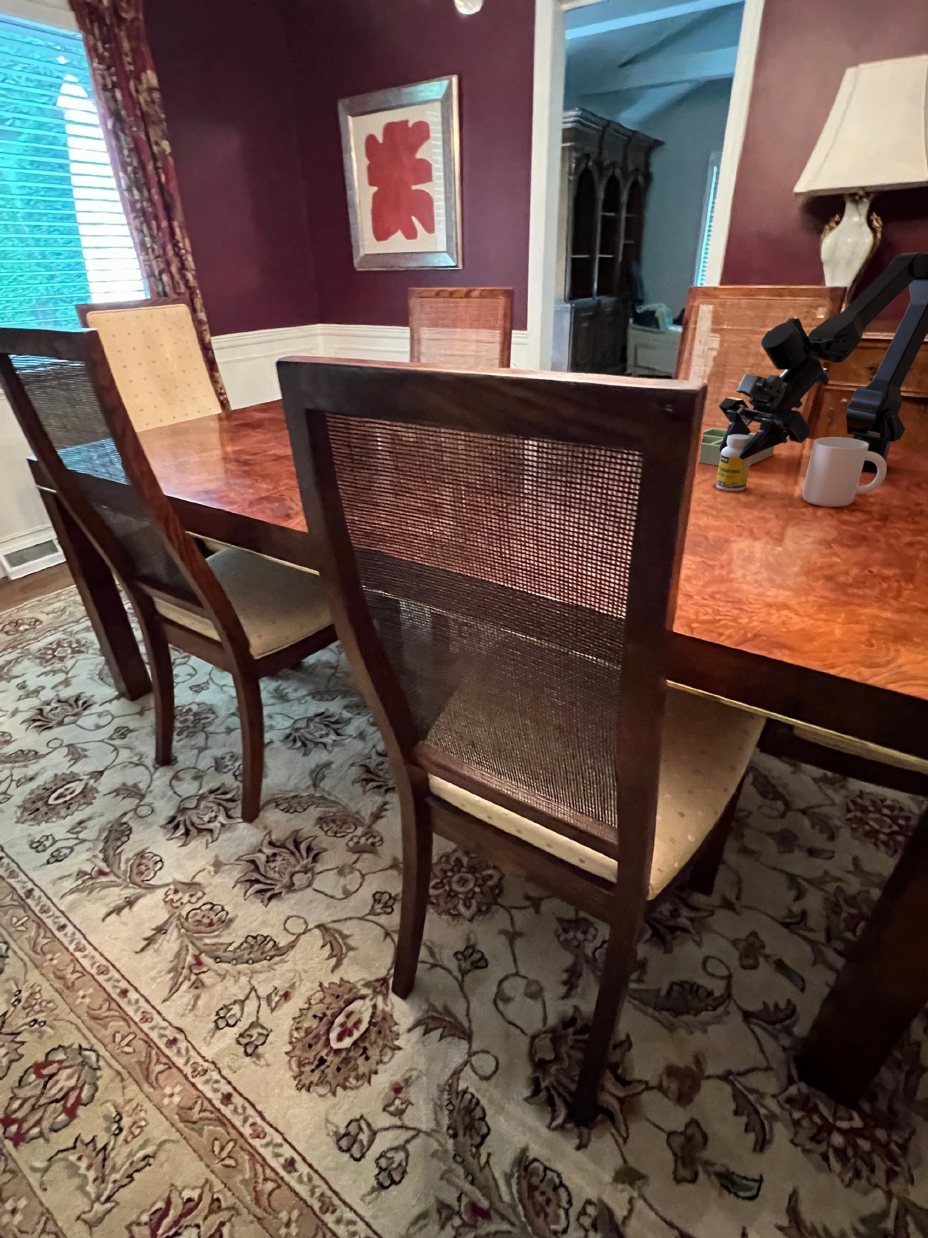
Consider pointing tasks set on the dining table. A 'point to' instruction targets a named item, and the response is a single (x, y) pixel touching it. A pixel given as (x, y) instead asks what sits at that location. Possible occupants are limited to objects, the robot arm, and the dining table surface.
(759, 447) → the robot arm
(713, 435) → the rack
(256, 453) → the dining table surface
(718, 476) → the supplement bottle
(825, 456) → the mug
